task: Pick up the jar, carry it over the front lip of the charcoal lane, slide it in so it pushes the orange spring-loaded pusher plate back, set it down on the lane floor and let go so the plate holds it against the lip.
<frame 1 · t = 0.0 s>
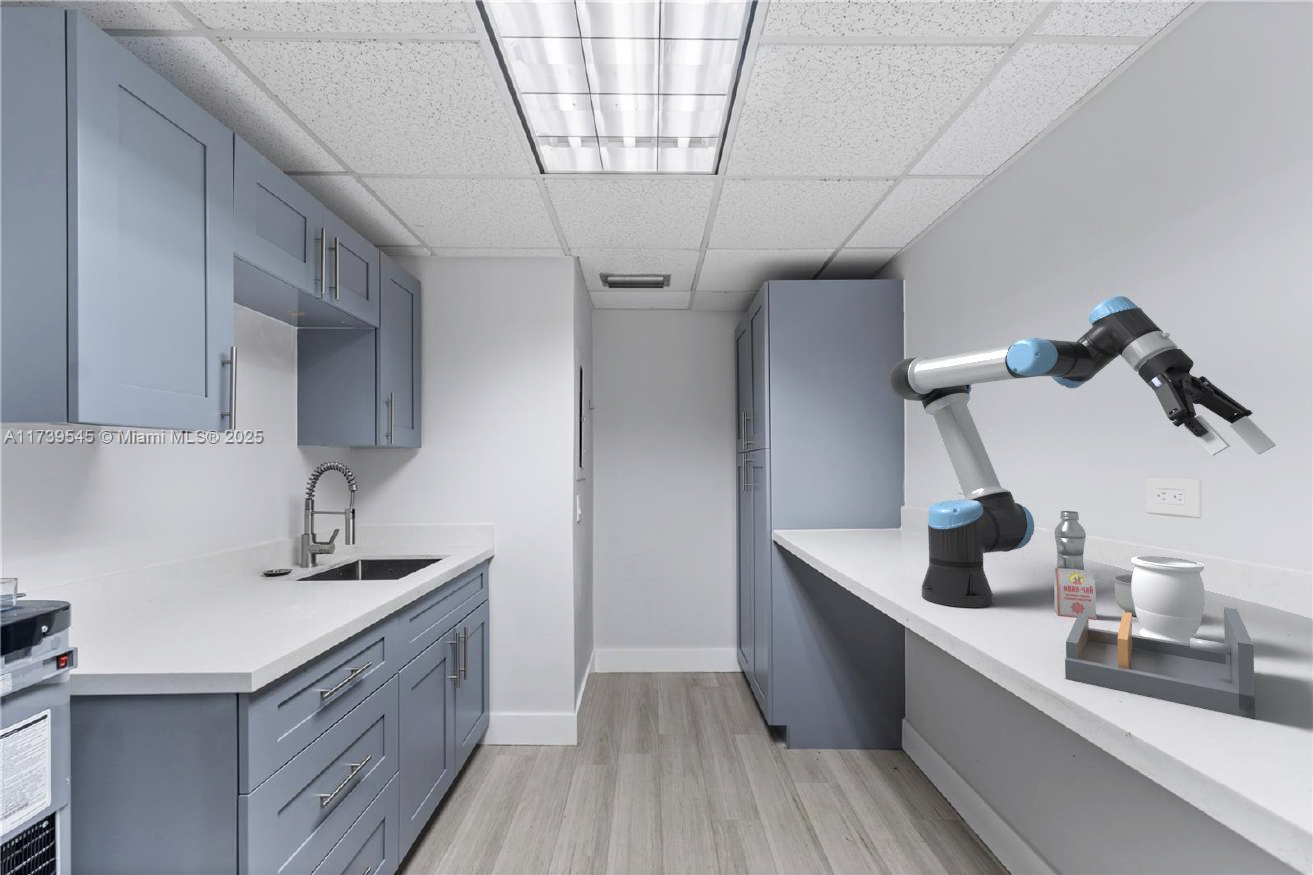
hand: (1244, 450, 99), 36 cm above the worktop, tool tilted 35°, fingers open, 13 cm apart
pusher plate: (1125, 643, 95), point 4 cm above the worktop, slide at 0.0 cm
teacup: (1142, 614, 126), on the worktop
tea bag: (1074, 616, 125), on the worktop
plastic bottle: (1070, 592, 145), on the worktop
jar: (1167, 641, 109), on the worktop
lane: (1153, 674, 93), on the worktop
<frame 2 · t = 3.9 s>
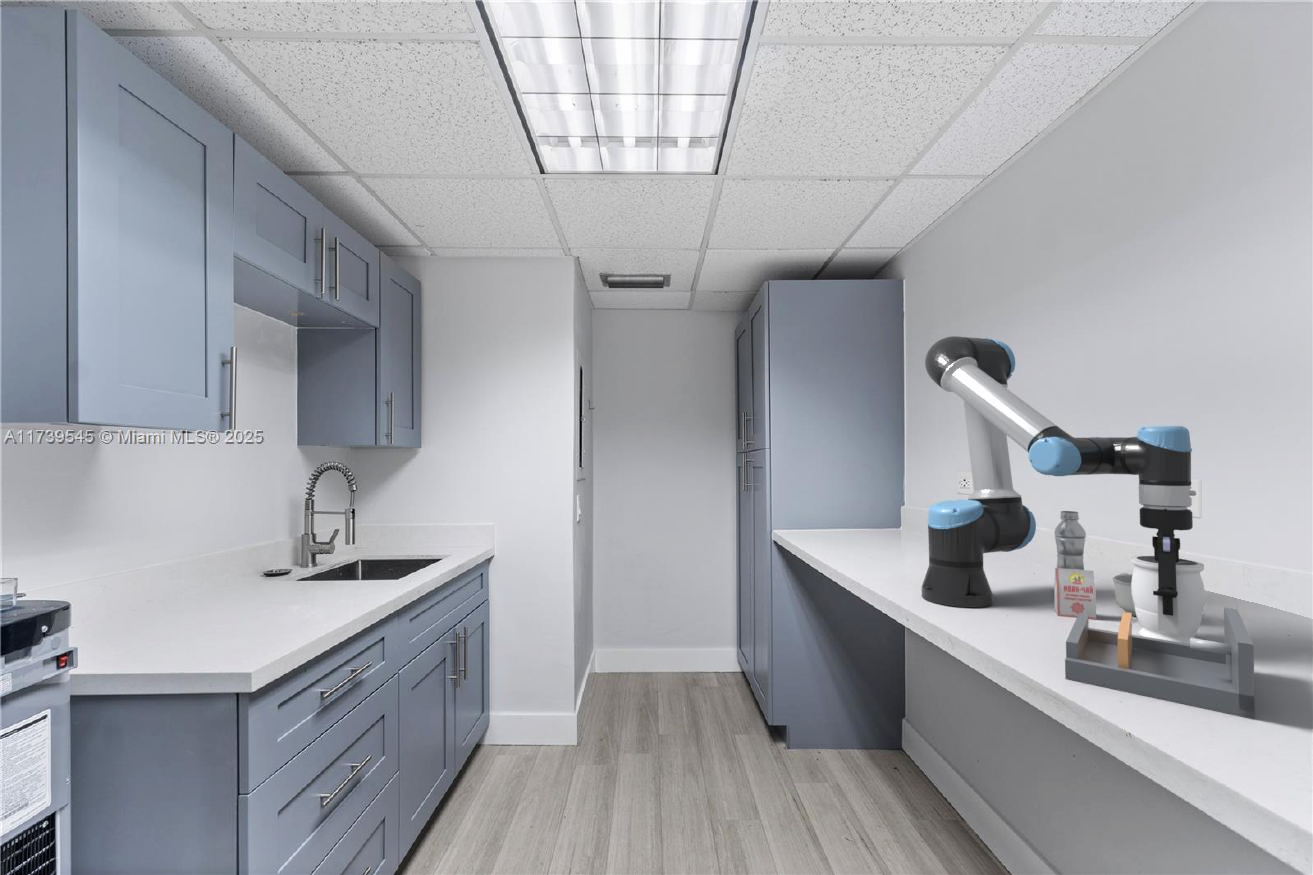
hand: (1167, 625, 109), 3 cm above the worktop, tool pointing down, fingers closed on jar, 10 cm apart
jar: (1167, 641, 109), on the worktop, touching gripper
everything else where it was.
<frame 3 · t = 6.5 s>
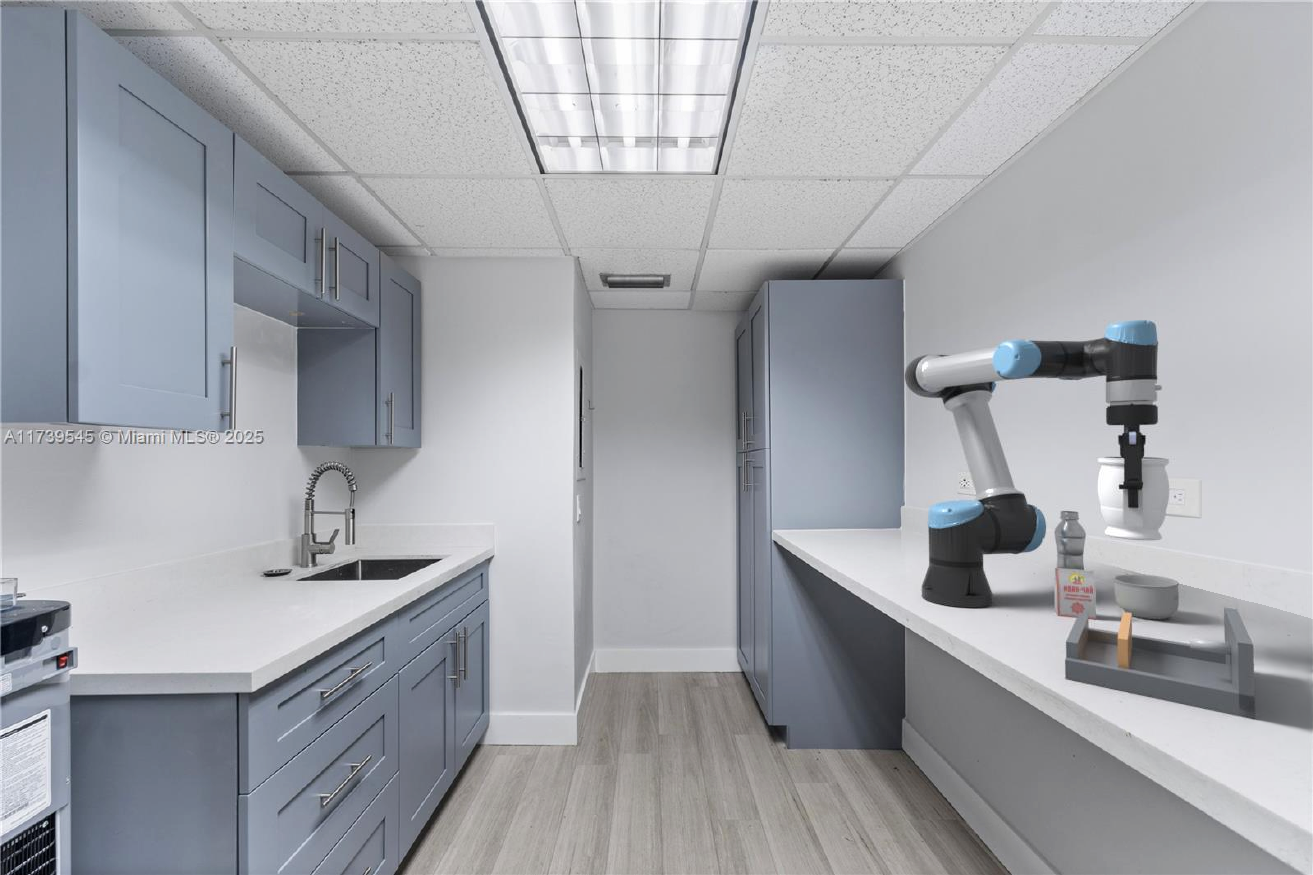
hand: (1132, 522, 109), 22 cm above the worktop, tool pointing down, fingers closed on jar, 10 cm apart
jar: (1132, 538, 109), point 19 cm above the worktop, touching gripper
everything else where it was.
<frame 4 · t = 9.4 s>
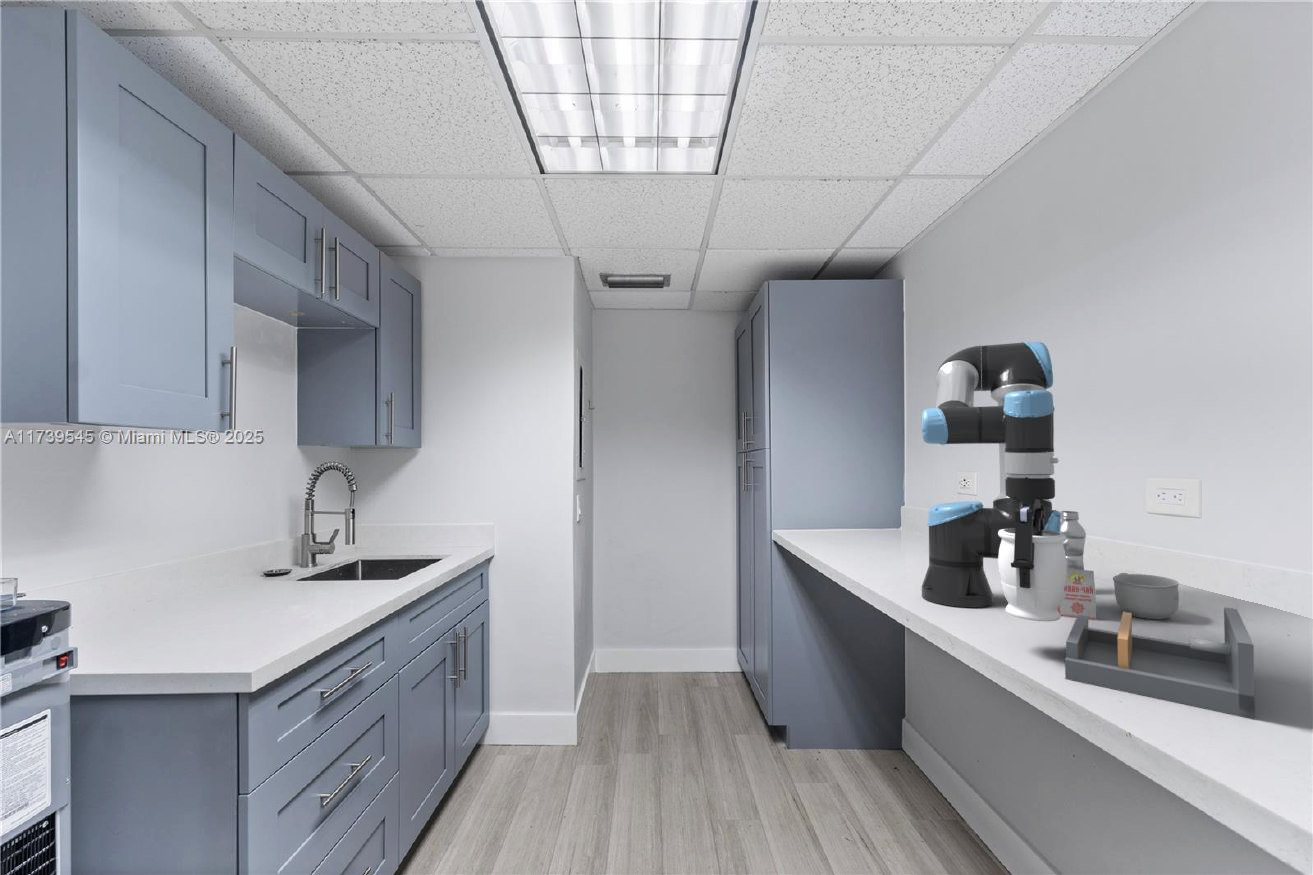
hand: (1031, 599, 104), 9 cm above the worktop, tool pointing down, fingers closed on jar, 10 cm apart
jar: (1032, 616, 104), point 6 cm above the worktop, touching gripper
everything else where it was.
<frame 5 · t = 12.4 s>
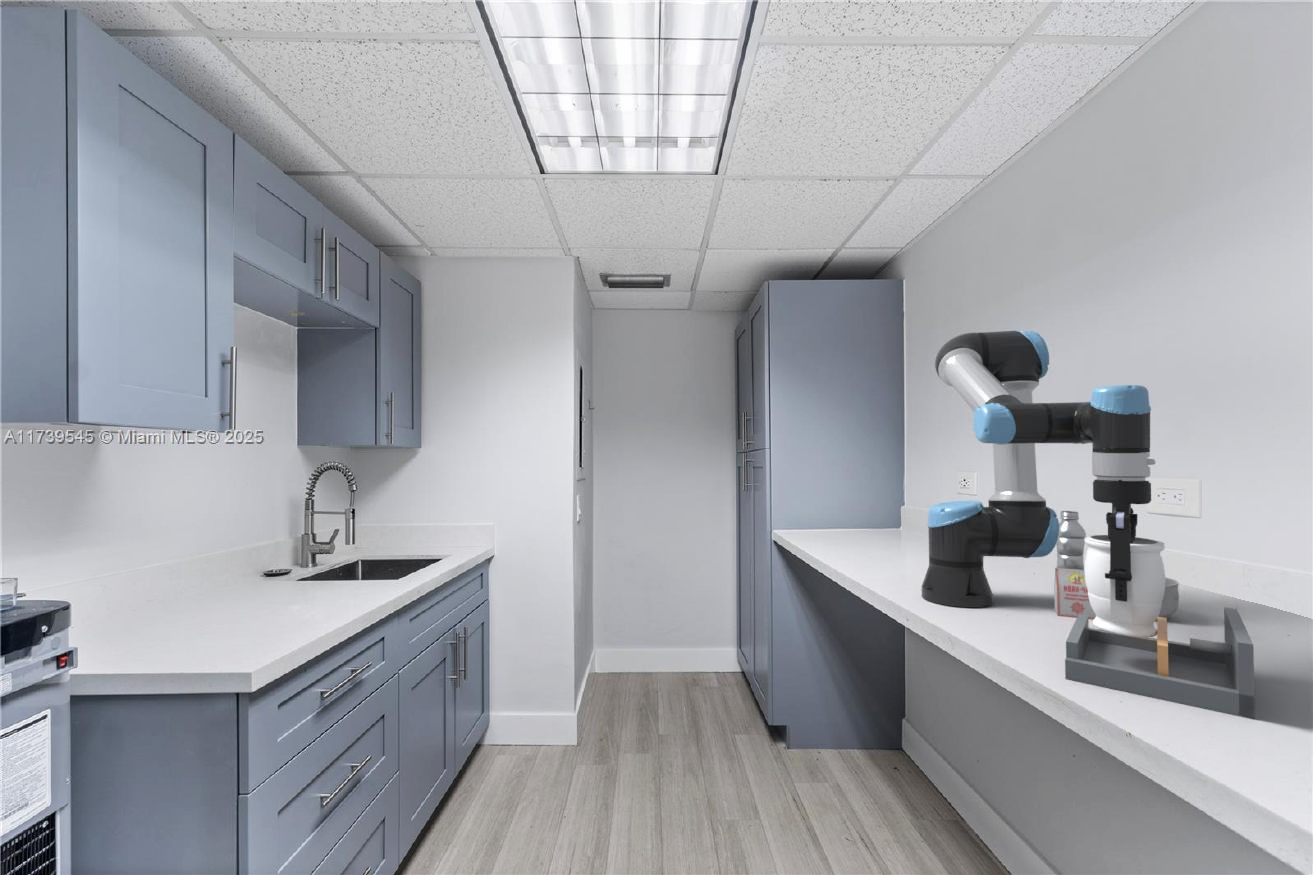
hand: (1123, 612, 96), 9 cm above the worktop, tool pointing down, fingers closed on jar, 10 cm apart
pusher plate: (1162, 649, 92), point 4 cm above the worktop, slide at 4.6 cm, touching jar
jar: (1124, 631, 96), point 6 cm above the worktop, touching gripper, pusher plate
everything else where it was.
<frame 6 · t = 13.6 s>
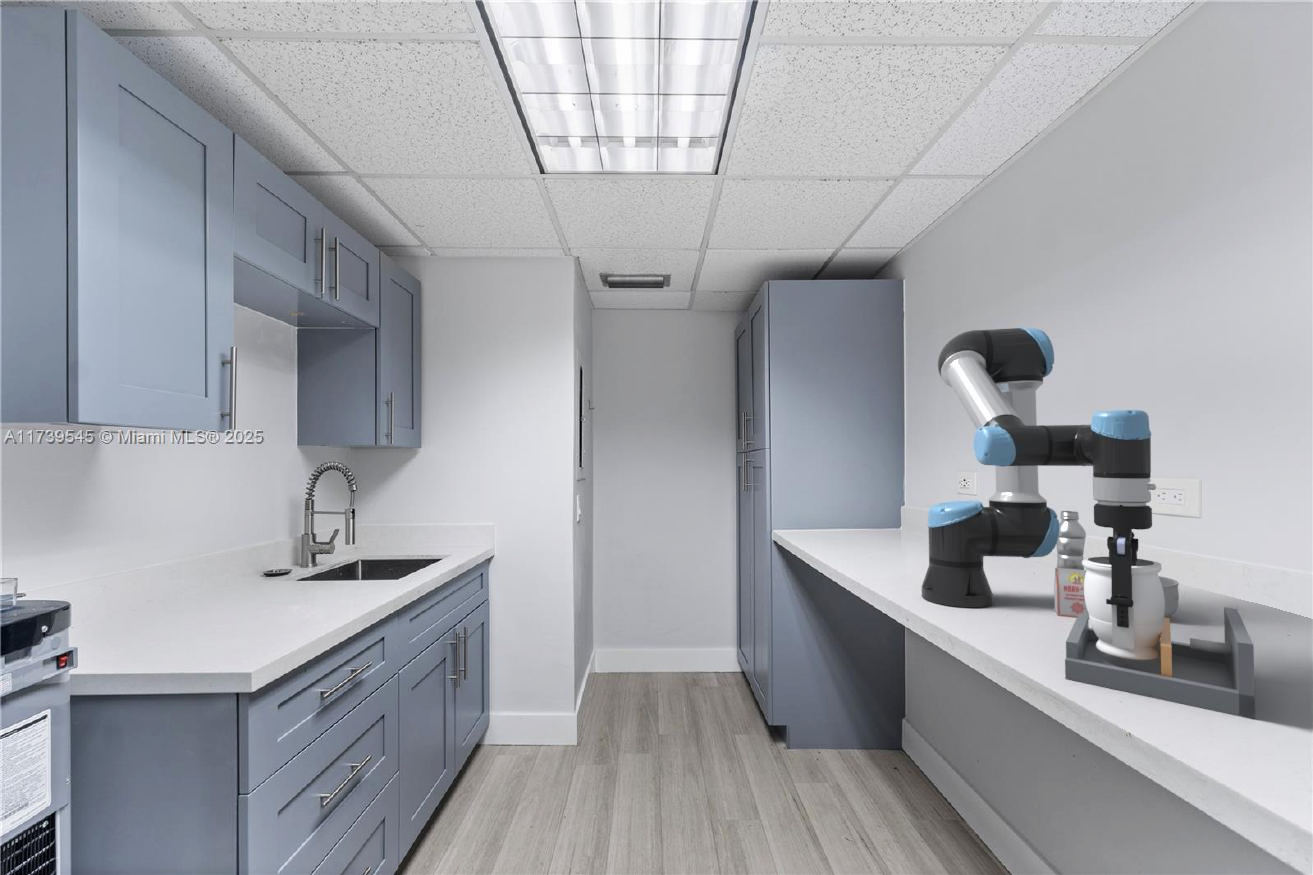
hand: (1124, 638, 95), 5 cm above the worktop, tool pointing down, fingers closed on jar, 10 cm apart
pusher plate: (1165, 649, 92), point 4 cm above the worktop, slide at 5.0 cm
jar: (1127, 653, 95), point 3 cm above the worktop, touching gripper
everything else where it was.
when the fingers open (4 cm above the worktop, at t = 15.2 s): jar stays where it is, resting on lane, pusher plate.
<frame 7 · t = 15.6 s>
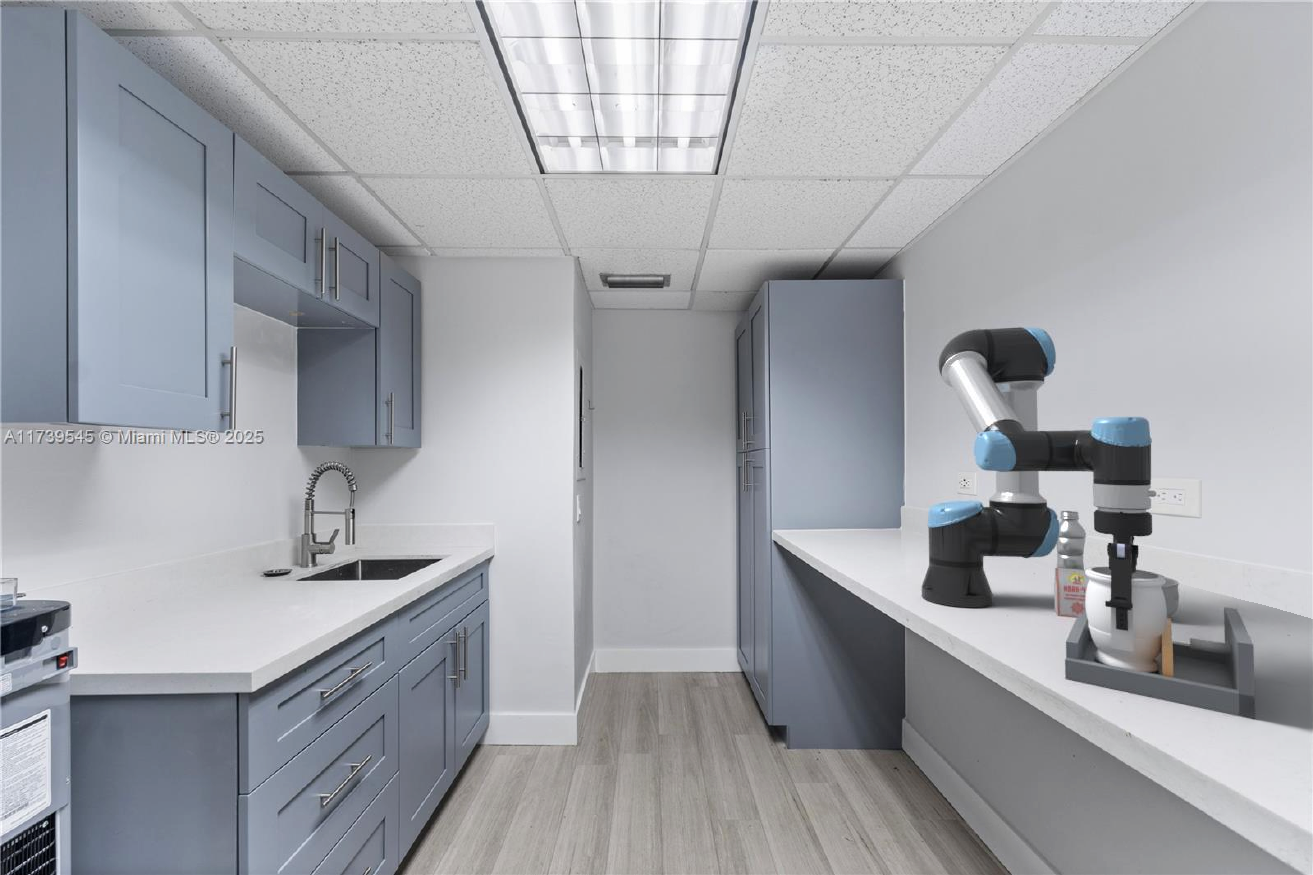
hand: (1124, 638, 95), 5 cm above the worktop, tool pointing down, fingers open, 13 cm apart
pusher plate: (1167, 650, 92), point 4 cm above the worktop, slide at 5.2 cm, touching jar
jar: (1125, 665, 95), point 1 cm above the worktop, touching lane, pusher plate
everything else where it was.
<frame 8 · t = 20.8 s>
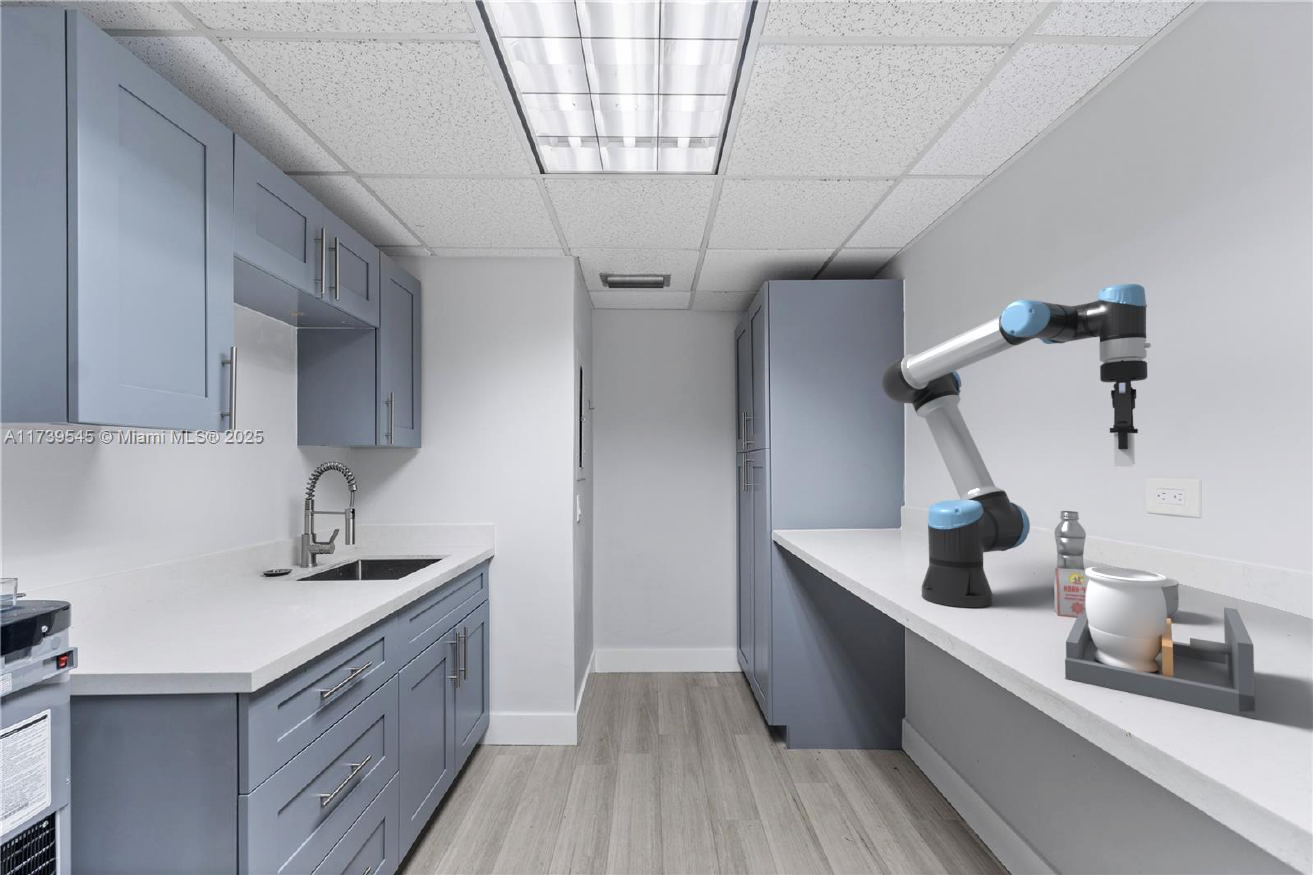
hand: (1125, 465, 118), 33 cm above the worktop, tool pointing down, fingers open, 13 cm apart
nothing on the worktop moved.
at the end: jar 0.8 cm from the target spot on the lane, point 0.8 cm above the lane's base; pusher plate slide at 5.2 cm; jar tilted 0° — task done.
